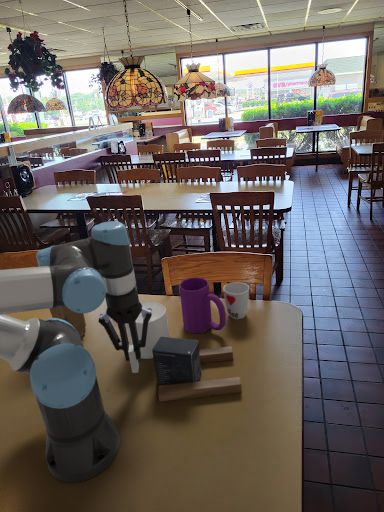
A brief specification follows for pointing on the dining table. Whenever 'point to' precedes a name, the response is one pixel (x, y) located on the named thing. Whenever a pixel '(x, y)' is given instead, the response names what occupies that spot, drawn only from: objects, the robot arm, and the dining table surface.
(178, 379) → the box
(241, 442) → the dining table surface
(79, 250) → the robot arm
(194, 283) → the mug
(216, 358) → the parallel wooden rails
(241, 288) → the cup
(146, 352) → the cup
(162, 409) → the dining table surface
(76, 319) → the block
